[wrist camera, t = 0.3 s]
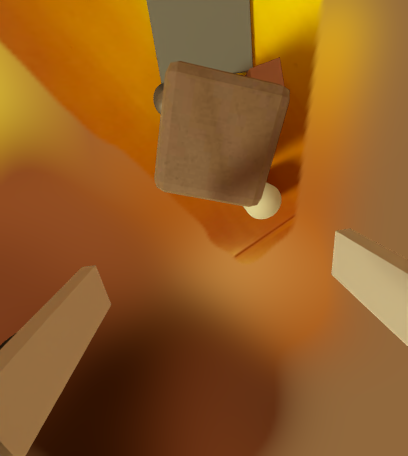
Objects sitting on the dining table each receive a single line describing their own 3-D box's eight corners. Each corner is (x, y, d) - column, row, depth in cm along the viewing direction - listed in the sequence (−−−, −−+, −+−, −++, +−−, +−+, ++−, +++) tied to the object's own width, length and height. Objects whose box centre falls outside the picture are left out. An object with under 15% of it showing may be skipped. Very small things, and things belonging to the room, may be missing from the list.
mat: (140, -39, 27) (139, -43, 26) (245, -58, 27) (246, -62, 26) (162, 85, 32) (161, 84, 31) (251, 70, 31) (252, 69, 31)
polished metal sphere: (156, 92, 32) (150, 84, 28) (183, 88, 32) (181, 79, 28) (161, 123, 34) (157, 119, 30) (188, 119, 34) (186, 115, 30)
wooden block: (244, 121, 34) (299, 83, 15) (230, 182, 37) (261, 211, 18) (184, 109, 33) (164, 51, 14) (176, 171, 36) (150, 191, 18)
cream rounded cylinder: (236, 180, 37) (243, 186, 31) (266, 176, 37) (281, 181, 30) (238, 209, 39) (246, 221, 33) (267, 205, 39) (281, 216, 32)
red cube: (240, 83, 32) (249, 68, 26) (265, 74, 32) (279, 57, 26) (246, 111, 33) (256, 102, 28) (270, 102, 33) (285, 92, 27)
